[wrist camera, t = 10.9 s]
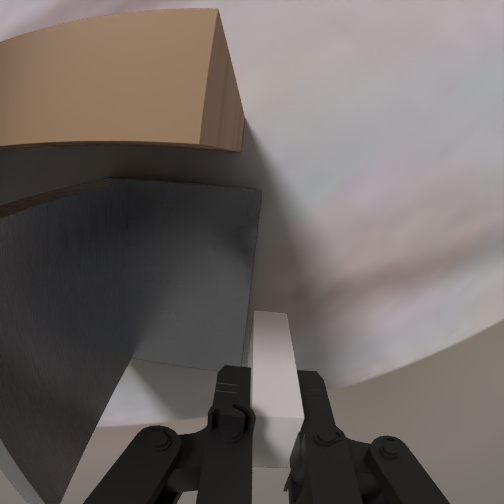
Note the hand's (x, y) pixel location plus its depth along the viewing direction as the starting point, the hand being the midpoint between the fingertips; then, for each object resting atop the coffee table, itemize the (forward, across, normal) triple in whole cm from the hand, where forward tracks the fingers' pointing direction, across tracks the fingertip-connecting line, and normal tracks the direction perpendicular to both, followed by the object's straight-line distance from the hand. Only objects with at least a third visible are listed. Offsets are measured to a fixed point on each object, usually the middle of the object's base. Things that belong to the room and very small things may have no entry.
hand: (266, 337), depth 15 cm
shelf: (+5, -20, +2) cm, 21 cm away
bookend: (+5, -5, 0) cm, 8 cm away
